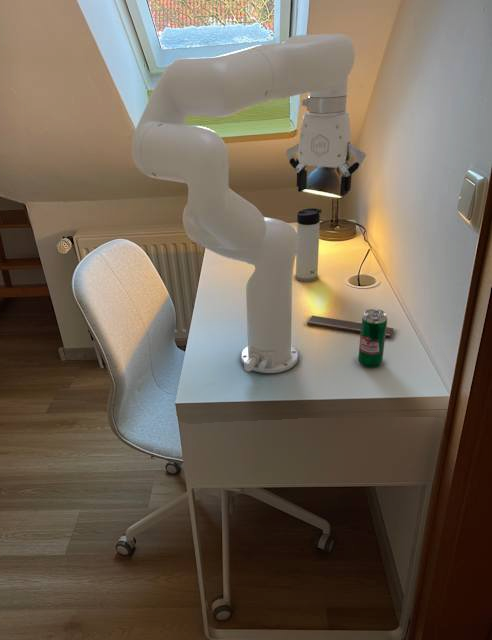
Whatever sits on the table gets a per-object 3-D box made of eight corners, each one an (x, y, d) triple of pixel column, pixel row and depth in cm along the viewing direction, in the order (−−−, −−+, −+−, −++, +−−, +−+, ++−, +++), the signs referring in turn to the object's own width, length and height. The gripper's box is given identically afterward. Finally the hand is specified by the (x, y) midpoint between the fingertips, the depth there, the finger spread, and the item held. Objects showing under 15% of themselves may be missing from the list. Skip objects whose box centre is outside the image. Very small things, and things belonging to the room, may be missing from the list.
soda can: (354, 365, 118) (358, 315, 112) (363, 354, 121) (367, 306, 115) (377, 371, 115) (382, 321, 109) (385, 360, 119) (391, 311, 113)
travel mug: (317, 282, 156) (320, 213, 146) (294, 281, 157) (296, 212, 147) (319, 273, 161) (322, 206, 151) (296, 273, 163) (298, 206, 152)
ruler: (390, 338, 127) (390, 335, 126) (307, 325, 135) (307, 322, 134) (393, 331, 130) (393, 327, 129) (312, 318, 138) (312, 315, 137)
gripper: (279, 107, 111) (279, 193, 120) (363, 109, 103) (355, 200, 112) (294, 103, 116) (293, 185, 125) (375, 104, 108) (367, 191, 117)
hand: (322, 192), depth 118 cm, fingers open, 9 cm apart
